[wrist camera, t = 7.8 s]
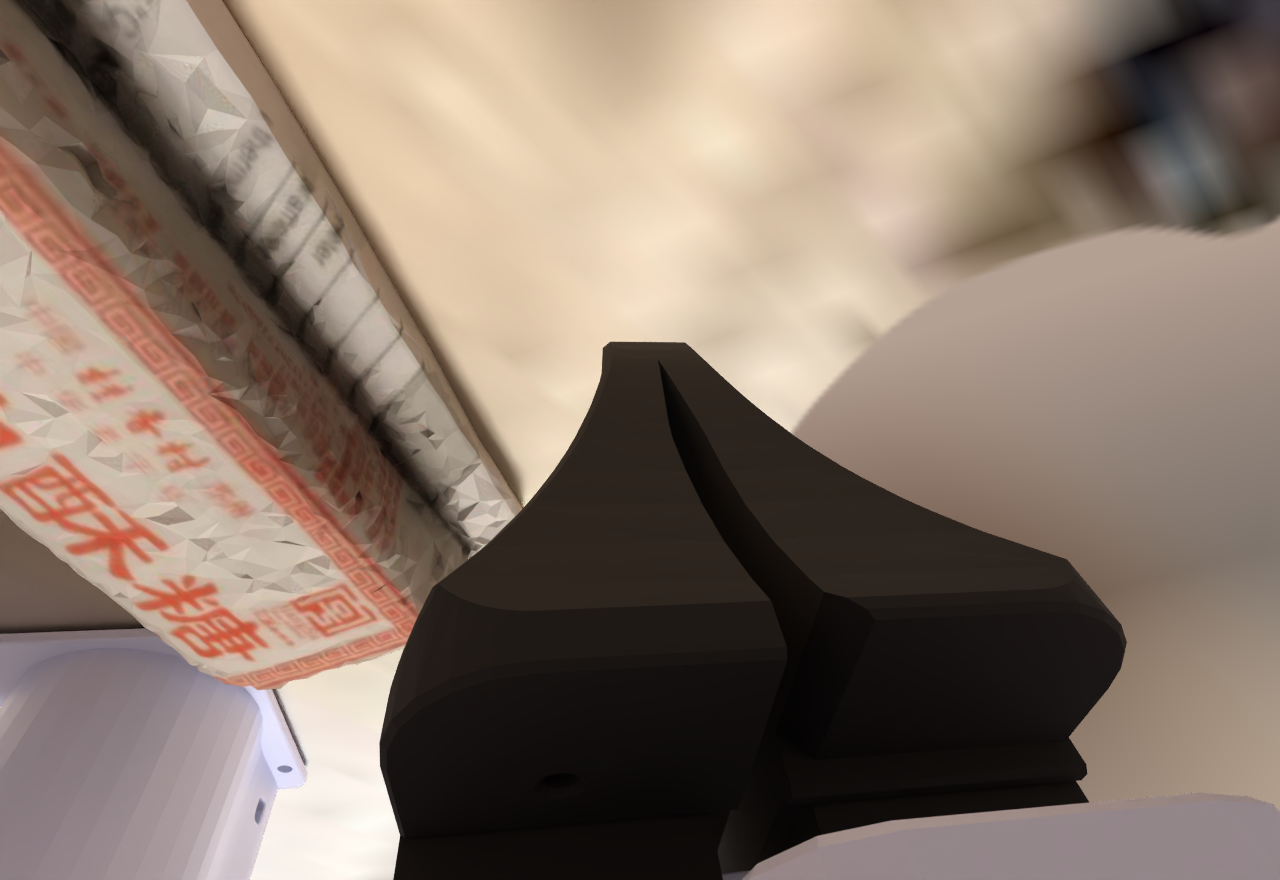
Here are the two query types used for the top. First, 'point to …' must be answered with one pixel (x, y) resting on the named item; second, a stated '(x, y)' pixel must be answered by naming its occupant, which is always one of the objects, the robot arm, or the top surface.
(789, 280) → the top surface
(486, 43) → the top surface
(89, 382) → the packaged product
